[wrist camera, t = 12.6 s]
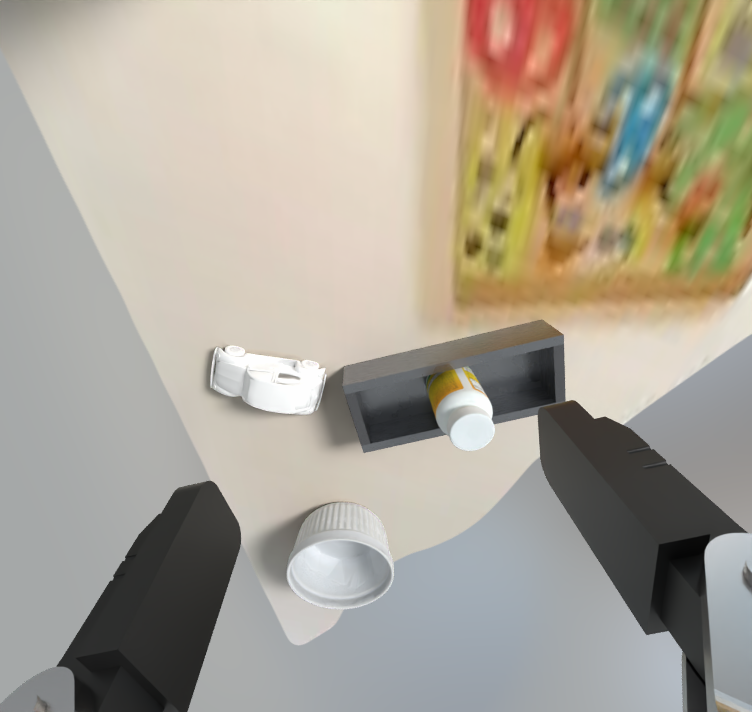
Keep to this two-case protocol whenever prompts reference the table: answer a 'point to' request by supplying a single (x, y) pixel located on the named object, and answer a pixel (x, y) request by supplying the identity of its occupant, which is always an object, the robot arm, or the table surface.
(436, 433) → the open rectangular box
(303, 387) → the car
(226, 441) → the table surface
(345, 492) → the table surface
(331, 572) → the ramekin
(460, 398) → the supplement bottle
